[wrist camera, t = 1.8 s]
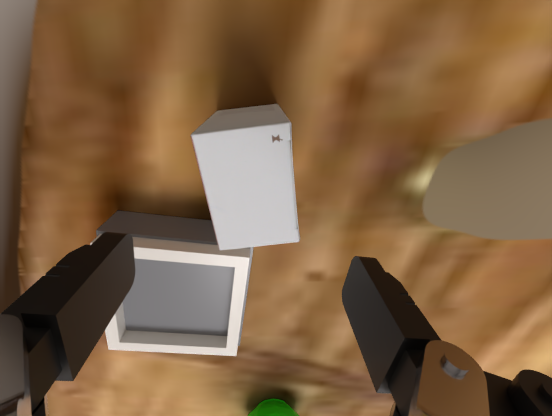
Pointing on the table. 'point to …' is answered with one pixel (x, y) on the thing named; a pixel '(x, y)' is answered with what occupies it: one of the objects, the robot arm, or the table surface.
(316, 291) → the table surface
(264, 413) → the plastic bottle
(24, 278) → the table surface
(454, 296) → the table surface
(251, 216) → the small box
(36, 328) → the robot arm
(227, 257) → the grey square tray
